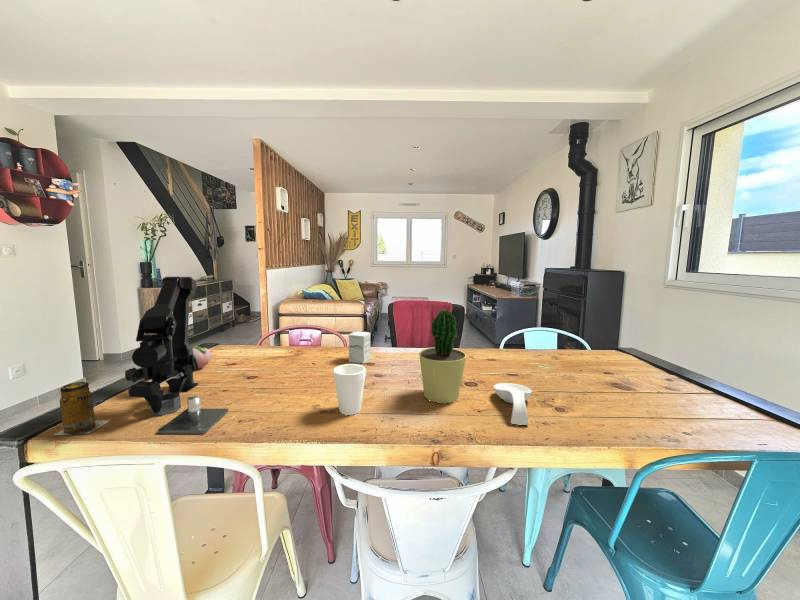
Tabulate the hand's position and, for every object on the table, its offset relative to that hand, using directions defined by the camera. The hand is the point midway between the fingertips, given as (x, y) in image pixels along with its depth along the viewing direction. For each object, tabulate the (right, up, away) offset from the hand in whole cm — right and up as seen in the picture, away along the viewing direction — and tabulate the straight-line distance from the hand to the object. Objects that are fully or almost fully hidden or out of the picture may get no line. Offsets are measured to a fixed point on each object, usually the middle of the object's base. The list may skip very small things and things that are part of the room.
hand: (165, 406), depth 96 cm
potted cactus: (+84, -1, +12) cm, 85 cm away
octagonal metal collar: (0, -1, 0) cm, 1 cm away
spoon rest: (+106, -2, +5) cm, 106 cm away
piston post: (+13, -2, -7) cm, 15 cm away
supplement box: (+52, +5, +47) cm, 70 cm away
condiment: (-15, -3, -10) cm, 18 cm away
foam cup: (+55, -2, +1) cm, 55 cm away
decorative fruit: (-12, +4, +35) cm, 37 cm away
